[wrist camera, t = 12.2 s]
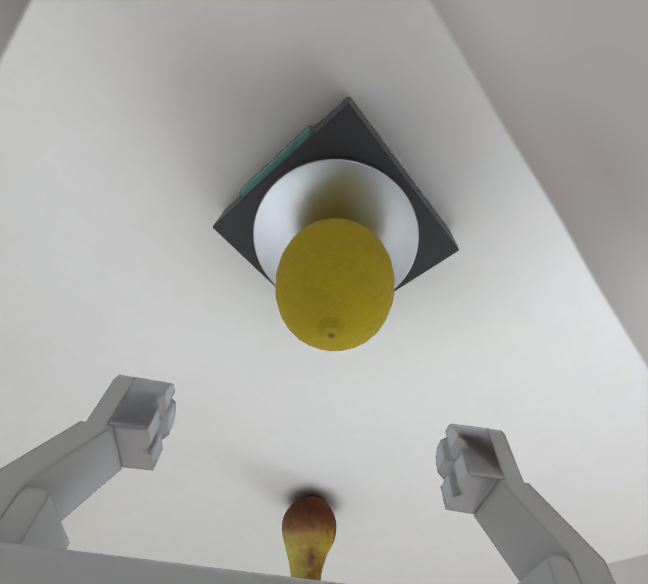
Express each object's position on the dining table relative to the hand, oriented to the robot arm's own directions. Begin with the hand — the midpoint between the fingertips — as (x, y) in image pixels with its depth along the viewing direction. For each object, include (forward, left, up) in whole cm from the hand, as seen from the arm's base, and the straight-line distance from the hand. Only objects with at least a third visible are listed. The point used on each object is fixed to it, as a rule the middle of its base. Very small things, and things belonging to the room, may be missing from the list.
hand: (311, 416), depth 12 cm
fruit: (+32, +3, -16) cm, 36 cm away
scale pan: (0, 0, -13) cm, 13 cm away
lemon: (0, 0, -12) cm, 12 cm away
